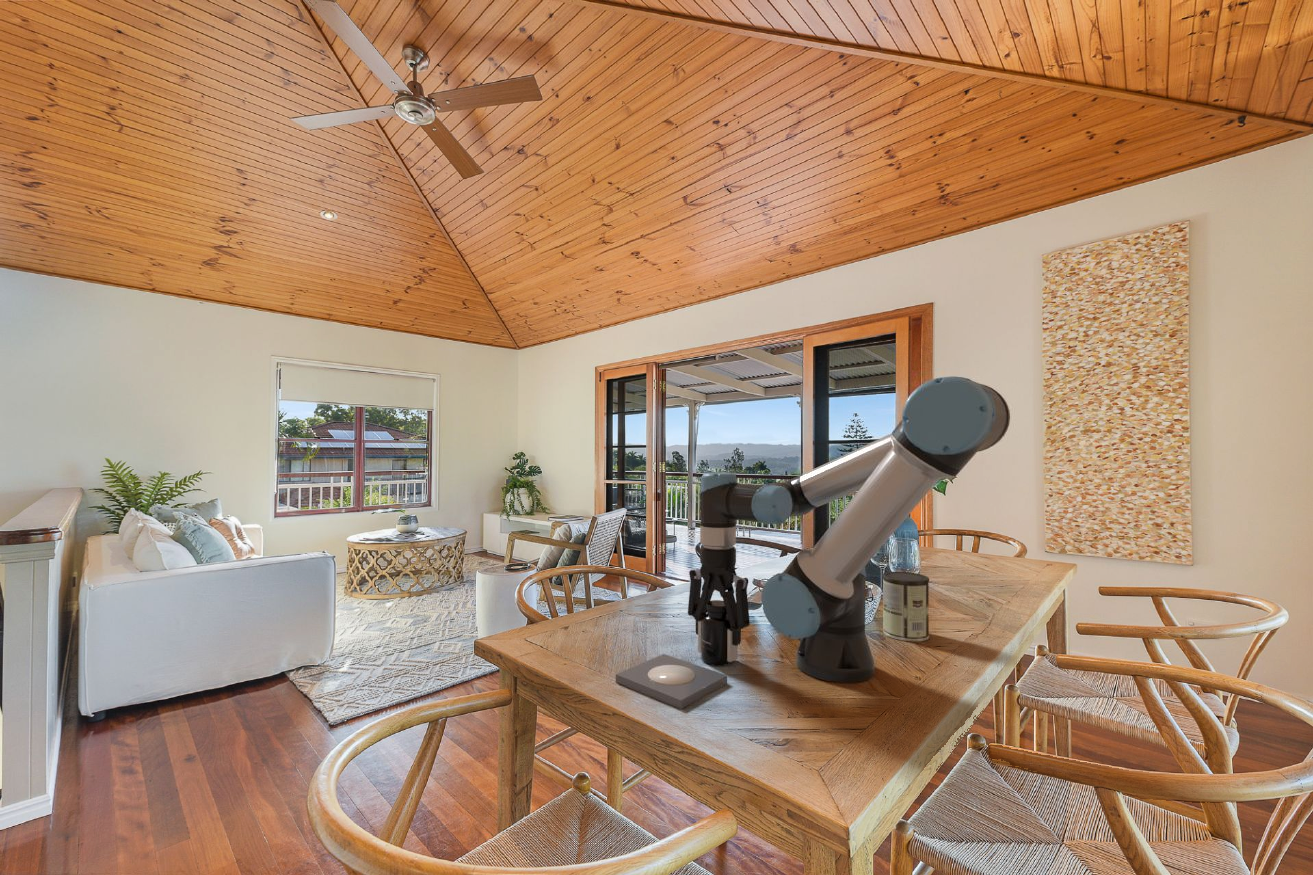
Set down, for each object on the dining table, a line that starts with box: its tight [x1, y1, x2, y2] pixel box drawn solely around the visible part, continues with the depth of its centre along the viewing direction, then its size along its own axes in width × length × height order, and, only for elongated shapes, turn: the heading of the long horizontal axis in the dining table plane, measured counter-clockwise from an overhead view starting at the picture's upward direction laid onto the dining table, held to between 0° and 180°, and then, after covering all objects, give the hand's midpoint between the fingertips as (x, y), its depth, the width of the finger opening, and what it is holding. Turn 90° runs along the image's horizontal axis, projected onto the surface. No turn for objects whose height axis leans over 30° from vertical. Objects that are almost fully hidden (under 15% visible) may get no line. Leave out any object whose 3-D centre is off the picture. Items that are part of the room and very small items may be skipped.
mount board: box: [615, 653, 728, 710], centre depth 107 cm, size 16×14×2 cm
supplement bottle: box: [700, 599, 732, 667], centre depth 118 cm, size 7×7×12 cm
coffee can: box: [882, 571, 930, 643], centre depth 135 cm, size 10×10×14 cm
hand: (717, 654), depth 118 cm, fingers closed on supplement bottle, 7 cm apart
